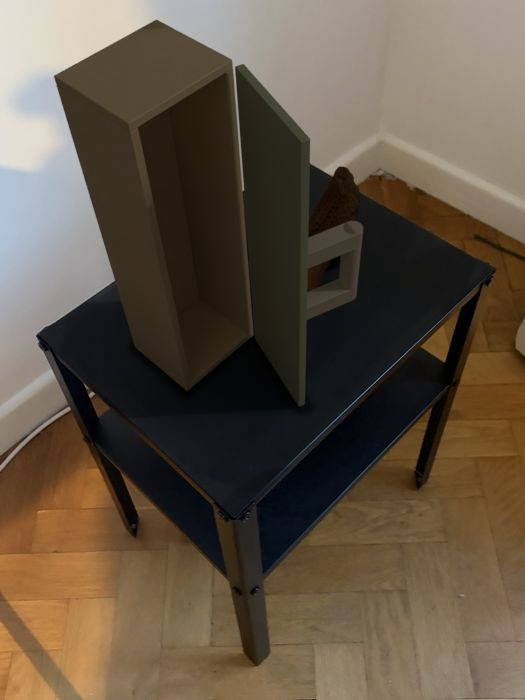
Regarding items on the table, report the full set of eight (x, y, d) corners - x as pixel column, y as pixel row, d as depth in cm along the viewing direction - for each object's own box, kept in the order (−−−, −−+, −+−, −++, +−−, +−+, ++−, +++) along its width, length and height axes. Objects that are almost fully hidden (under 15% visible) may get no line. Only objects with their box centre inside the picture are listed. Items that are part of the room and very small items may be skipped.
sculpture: (380, 178, 72) (256, 248, 68) (392, 264, 79) (280, 332, 74) (331, 157, 78) (214, 220, 74) (346, 238, 85) (240, 300, 80)
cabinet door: (309, 315, 77) (317, 39, 51) (356, 380, 72) (390, 109, 46) (254, 338, 75) (234, 66, 50) (298, 407, 70) (300, 142, 45)
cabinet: (253, 335, 75) (232, 59, 50) (187, 391, 72) (127, 123, 46) (201, 295, 79) (156, 18, 54) (134, 347, 75) (53, 75, 50)
